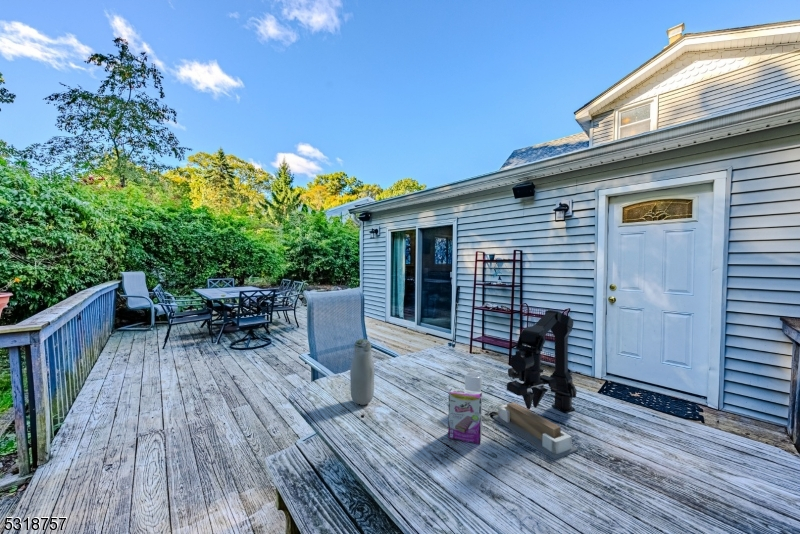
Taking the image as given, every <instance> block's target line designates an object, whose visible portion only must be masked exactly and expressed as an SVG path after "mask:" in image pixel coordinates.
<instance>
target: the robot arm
mask: <svg viewBox="0 0 800 534" xmlns="http://www.w3.org/2000/svg"><path fill="white" fill-rule="evenodd" d="M573 327H574V319H573V318H572V317H571V316H570V315H567V314H564V313H562V312H561V311H558V310H551V309H548V310H545V311H544V315H542V317H541V318H540V319H539V320H538V321H537V322H536V323H535V324H534V325H532V326H527V327H526V328H524V329H523V330H522V331H521V332H520V334H519V335H518V336H519V337H518V339H517V342H516V344H515V345H516V346H515V354H513V355H512V356H511V357H510V359H509V364H510V368H509V367H508V368H507V375H508V377H509V378H511V379H512V380H513V381H509V382H507V383H506V390H507V391H508V392H510V393H513V394H514V395H516V396H517V397H518V396H519V397H520V396H522V398H523V402H524V404H525V407H526V409H527V410H531V407H533V408H537V407H538V406H539V403H540V402H541V400H542V399H543V397H544V396H545V394H546V393H547V392H549V389H550V392H551V393H554V400H553V401H554V402H553V403H554V404H551V407H553V408H555V409H557V410H558V411H561V412H562V413H568V412H572V411H575V410H576V408H575V407H574V406H572V405H573V403H572V401H573V398H577V391H578V390H577V388H576V386H575V384H574V383H573V377H572V375H571V373H570V372H569V369H568V368H569V366H568V365H569V364H568V363H569V361H568V360H569V359H568V357H569V356H568V355H569V349H568V347H569V345H568V344H569V343H568V342H569V341H568V339H569V338H568V337H569V335H570V334H571V332H572V330H573ZM548 332H551V333H552V334H553V336H554V371H553V372H552V374H550V375H549V376H548V375H546V374H542V373H544V369H543V368H541V364H542V361H541V359H542V357H541V355H542V353H541V352H543V348H544V345H545V343H546V335H547V334H548ZM515 379H518V380H519V381H520V382H519V381H517V380H515ZM545 385H547V386H548V387H549V389H548V388H546V387H545ZM532 405H533V406H532Z"/></svg>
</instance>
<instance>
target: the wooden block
mask: <svg viewBox="0 0 800 534" xmlns="http://www.w3.org/2000/svg"><path fill="white" fill-rule="evenodd" d="M506 404H507V410H508V411H510V422H512V423H514V424H515V425H517V426H519V427H520V428H522V429H524V430H525V431H527V432H529V433H530V434H532V435H534V436H535V437H537V438H539V439H540V440H542V438H543V434H544V433H546V434H547V435H549V436H551V437H552V438H554V439H555V438H558V437H561V431H562V428H561V426H560V425H557V424H556V423H555V422H552V421H550V420H548V419H547V418H545V417H543V416H540V415H538V414H537V413H534V412H533V411H531V410H530V409H527V408H525V407H523V406H522V405H520V404H517V403H515V402H514V401H513V402H510V403H506Z"/></svg>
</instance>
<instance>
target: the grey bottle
mask: <svg viewBox="0 0 800 534" xmlns="http://www.w3.org/2000/svg"><path fill="white" fill-rule="evenodd" d="M373 358H374V357H373V354H372V343H371V341H370V340H368V339H366V338H361V339H357V340H356V341H355V343H354V346H353V355H352V359H351V364H350V369H349V370H350V371H349V375H350V377H349V378H350V380H349V381H350V382H349V383H350V397H351V399H352V401H353V402H354V403H355V404H357V405H359V404H360V405H361V406H364V405H365V406H366V405H368V404H369V403H371V401H372V400H373V399H374V398H373V397H374V393H375V362H374V359H373Z"/></svg>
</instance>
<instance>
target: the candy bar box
mask: <svg viewBox="0 0 800 534" xmlns="http://www.w3.org/2000/svg"><path fill="white" fill-rule="evenodd" d="M482 411H483V392H482V391H481V392H477V391H470V390H465V388H464V389H463V388H455V387H450V389H449V391H448V418H447V419H448V422H447V424H448V426H447V429H448V430H447V431H448V433H447V437H448V439H450V438H451V439H452V440H455V441H456V440H457V441H461V442H467V443H470V444H471V443H473V444H475V445H476V444H477V445H481V440H482V433H483V432H482V430H483V429H482V419H483V416H482V415H483V412H482Z"/></svg>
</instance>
